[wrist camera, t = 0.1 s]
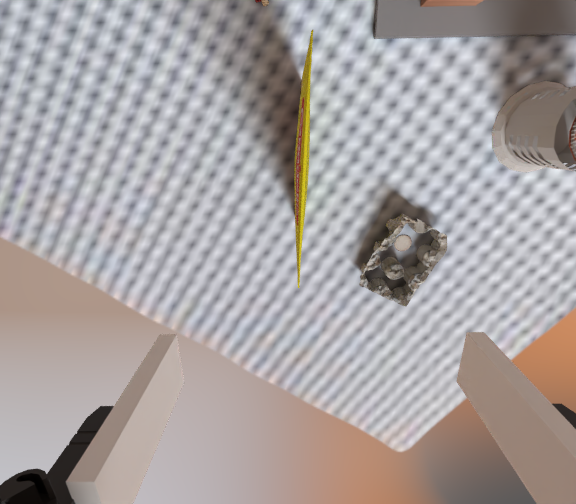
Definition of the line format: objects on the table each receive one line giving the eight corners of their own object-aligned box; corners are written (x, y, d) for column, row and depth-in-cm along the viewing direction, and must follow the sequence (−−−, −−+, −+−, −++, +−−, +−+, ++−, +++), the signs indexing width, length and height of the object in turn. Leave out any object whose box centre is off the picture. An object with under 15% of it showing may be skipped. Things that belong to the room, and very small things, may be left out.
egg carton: (394, 205, 41) (405, 213, 37) (443, 231, 42) (458, 242, 38) (350, 274, 44) (356, 287, 41) (397, 297, 46) (406, 312, 42)
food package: (296, 80, 36) (302, 28, 17) (307, 81, 36) (324, 29, 17) (291, 216, 41) (291, 288, 23) (300, 216, 41) (307, 289, 23)
